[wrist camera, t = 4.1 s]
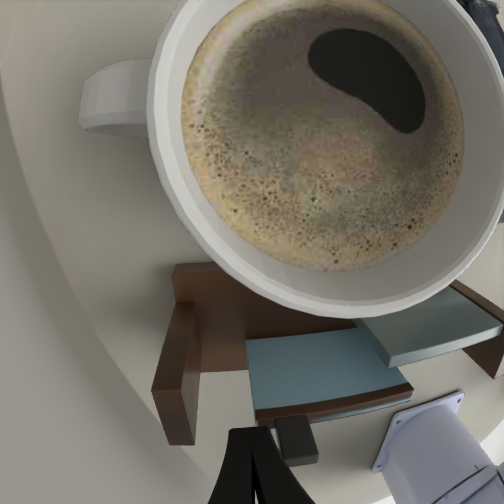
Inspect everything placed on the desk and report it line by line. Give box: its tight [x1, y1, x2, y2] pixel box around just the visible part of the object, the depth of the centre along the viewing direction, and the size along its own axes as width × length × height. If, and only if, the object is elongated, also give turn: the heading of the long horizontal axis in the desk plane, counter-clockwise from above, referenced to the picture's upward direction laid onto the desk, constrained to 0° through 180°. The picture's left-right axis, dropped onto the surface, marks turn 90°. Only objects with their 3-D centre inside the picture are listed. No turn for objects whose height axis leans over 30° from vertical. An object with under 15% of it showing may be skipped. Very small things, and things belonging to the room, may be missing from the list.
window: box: [151, 262, 504, 445], centre depth 14 cm, size 6×16×8 cm, turn 92°
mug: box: [78, 0, 504, 319], centre depth 10 cm, size 11×10×10 cm
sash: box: [245, 328, 414, 467], centre depth 12 cm, size 1×7×8 cm, turn 92°
